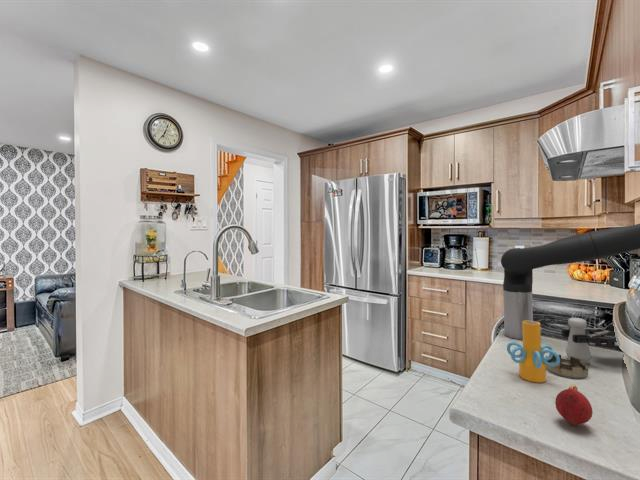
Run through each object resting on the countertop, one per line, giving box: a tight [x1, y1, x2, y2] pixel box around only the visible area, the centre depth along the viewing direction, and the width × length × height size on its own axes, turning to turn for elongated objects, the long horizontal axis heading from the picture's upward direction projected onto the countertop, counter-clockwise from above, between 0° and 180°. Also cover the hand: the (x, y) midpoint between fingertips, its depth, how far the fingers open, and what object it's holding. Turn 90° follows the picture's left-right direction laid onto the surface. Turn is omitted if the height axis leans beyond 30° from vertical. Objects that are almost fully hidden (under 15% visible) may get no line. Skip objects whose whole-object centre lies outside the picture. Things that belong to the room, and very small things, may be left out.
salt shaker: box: [565, 317, 592, 365], centre depth 92 cm, size 6×6×13 cm
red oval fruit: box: [554, 384, 593, 427], centre depth 62 cm, size 6×6×8 cm
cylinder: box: [506, 320, 560, 384], centre depth 83 cm, size 12×10×15 cm
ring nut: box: [544, 354, 589, 380], centre depth 86 cm, size 9×9×3 cm
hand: (567, 335), depth 92 cm, fingers open, 4 cm apart
